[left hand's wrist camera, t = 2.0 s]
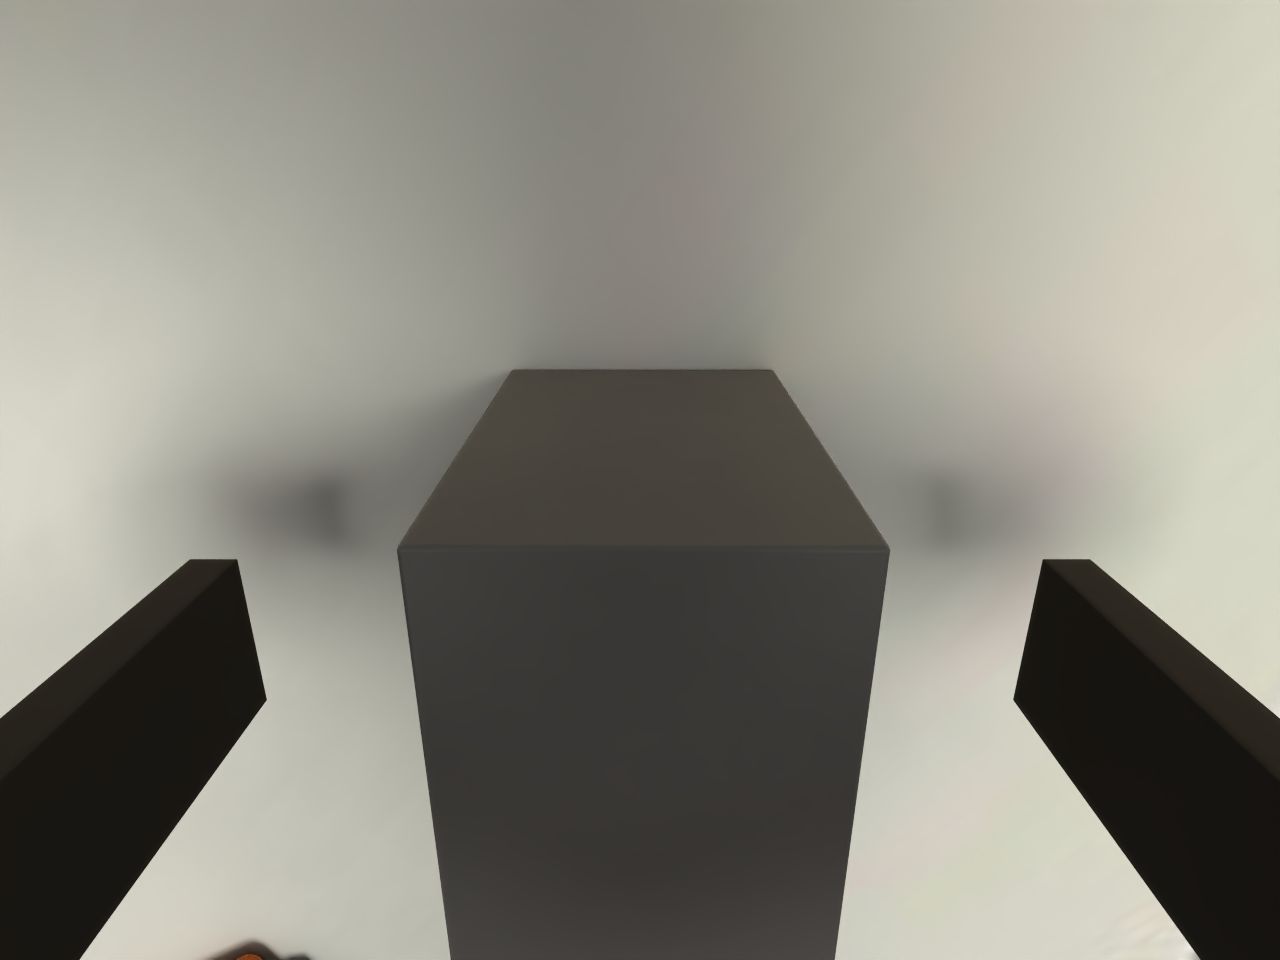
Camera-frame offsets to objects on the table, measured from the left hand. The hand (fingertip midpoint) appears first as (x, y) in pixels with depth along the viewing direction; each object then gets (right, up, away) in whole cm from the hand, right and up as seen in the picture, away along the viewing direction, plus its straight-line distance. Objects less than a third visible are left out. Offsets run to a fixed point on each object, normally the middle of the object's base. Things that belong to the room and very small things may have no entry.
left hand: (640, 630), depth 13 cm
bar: (0, -11, +10) cm, 14 cm away
